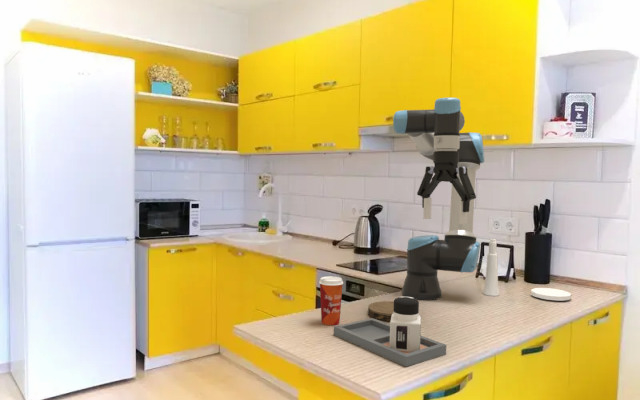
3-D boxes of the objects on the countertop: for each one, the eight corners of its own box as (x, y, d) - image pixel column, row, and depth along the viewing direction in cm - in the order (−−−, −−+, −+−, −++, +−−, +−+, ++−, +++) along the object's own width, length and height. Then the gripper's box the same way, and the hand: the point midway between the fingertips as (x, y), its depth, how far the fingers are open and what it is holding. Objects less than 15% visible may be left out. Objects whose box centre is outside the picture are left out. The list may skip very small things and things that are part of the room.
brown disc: (362, 320, 157) (363, 310, 156) (374, 307, 172) (374, 299, 171) (412, 325, 151) (412, 316, 151) (419, 312, 166) (419, 304, 166)
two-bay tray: (333, 334, 141) (333, 326, 141) (371, 325, 150) (372, 317, 149) (406, 367, 118) (406, 356, 118) (446, 354, 127) (446, 344, 127)
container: (419, 353, 124) (421, 303, 123) (389, 350, 125) (390, 301, 125) (420, 343, 131) (421, 295, 131) (391, 340, 133) (392, 293, 132)
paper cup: (325, 327, 147) (326, 282, 146) (314, 320, 154) (314, 277, 153) (347, 324, 151) (348, 279, 150) (335, 317, 158) (336, 275, 157)
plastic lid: (578, 303, 182) (579, 296, 182) (543, 303, 181) (543, 296, 181) (557, 294, 196) (557, 287, 196) (524, 294, 195) (524, 287, 195)
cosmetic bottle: (501, 296, 190) (503, 240, 189) (485, 295, 190) (487, 240, 189) (496, 292, 196) (498, 238, 195) (481, 292, 196) (482, 238, 195)
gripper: (407, 151, 153) (405, 217, 155) (473, 149, 133) (471, 226, 135) (423, 151, 158) (421, 216, 159) (490, 150, 138) (487, 224, 139)
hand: (444, 221), depth 147 cm, fingers open, 13 cm apart
